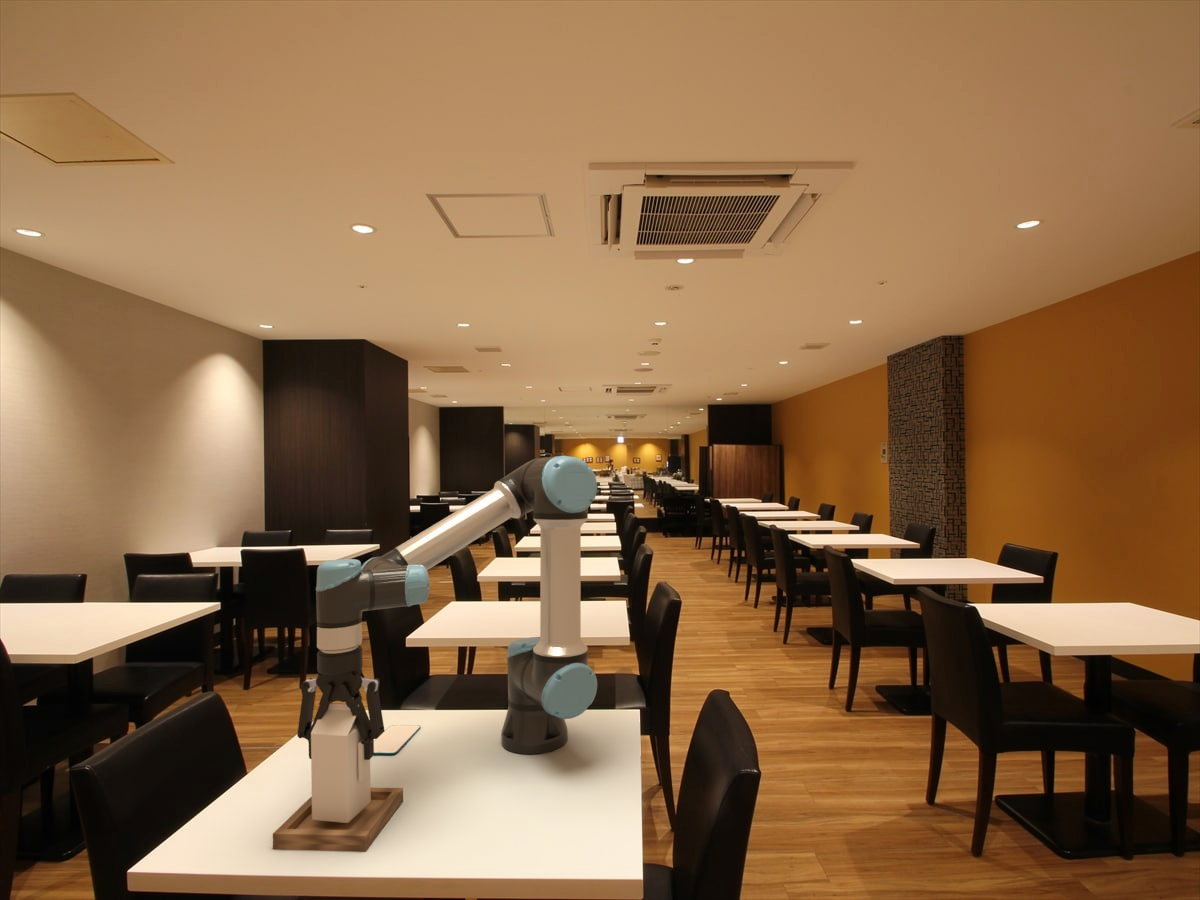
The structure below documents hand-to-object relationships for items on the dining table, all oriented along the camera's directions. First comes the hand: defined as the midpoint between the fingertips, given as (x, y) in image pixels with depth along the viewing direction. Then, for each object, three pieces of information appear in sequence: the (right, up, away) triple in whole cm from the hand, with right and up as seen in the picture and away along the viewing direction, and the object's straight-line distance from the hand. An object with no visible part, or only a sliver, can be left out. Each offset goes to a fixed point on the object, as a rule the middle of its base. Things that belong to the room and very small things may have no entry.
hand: (341, 776), depth 116 cm
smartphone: (-2, -10, +35) cm, 37 cm away
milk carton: (0, -6, 0) cm, 6 cm away
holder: (0, -8, 0) cm, 8 cm away
